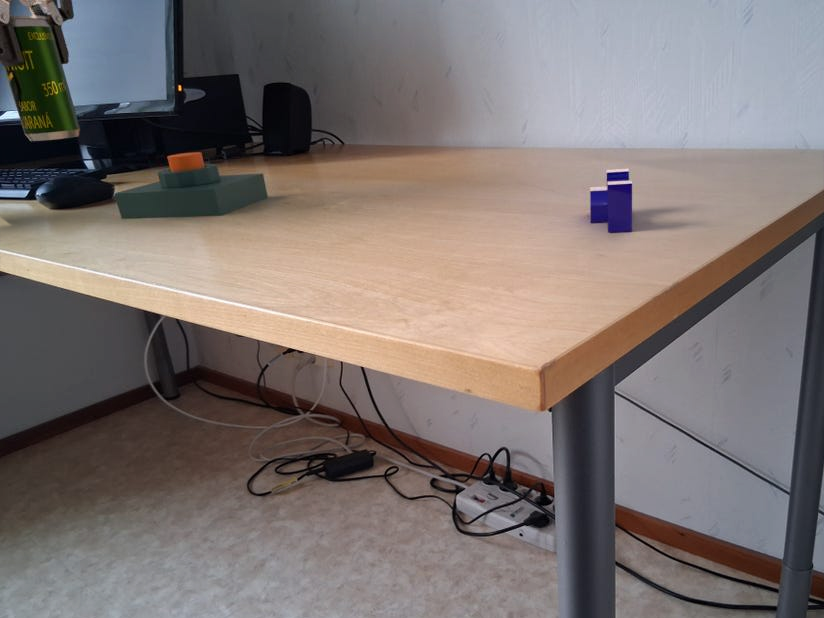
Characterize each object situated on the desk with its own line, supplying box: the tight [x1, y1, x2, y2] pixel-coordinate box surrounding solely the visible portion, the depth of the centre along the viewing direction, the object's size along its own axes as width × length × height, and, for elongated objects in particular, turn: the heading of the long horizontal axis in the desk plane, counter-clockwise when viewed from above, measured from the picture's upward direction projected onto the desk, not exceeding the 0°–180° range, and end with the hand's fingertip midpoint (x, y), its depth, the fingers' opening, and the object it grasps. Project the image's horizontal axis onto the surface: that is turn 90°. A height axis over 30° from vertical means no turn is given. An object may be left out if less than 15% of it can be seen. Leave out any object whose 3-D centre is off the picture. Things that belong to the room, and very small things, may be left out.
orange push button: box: [166, 151, 205, 171], centre depth 86 cm, size 4×4×2 cm
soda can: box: [3, 14, 81, 142], centre depth 74 cm, size 5×5×12 cm
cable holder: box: [589, 168, 633, 233], centre depth 62 cm, size 8×4×4 cm, turn 171°
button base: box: [114, 163, 269, 220], centre depth 88 cm, size 14×11×5 cm
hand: (36, 64), depth 74 cm, fingers closed on soda can, 5 cm apart
